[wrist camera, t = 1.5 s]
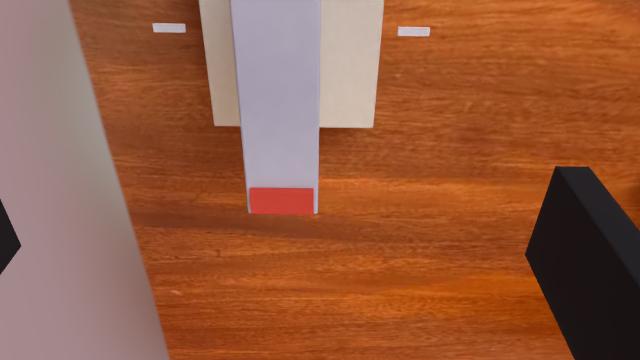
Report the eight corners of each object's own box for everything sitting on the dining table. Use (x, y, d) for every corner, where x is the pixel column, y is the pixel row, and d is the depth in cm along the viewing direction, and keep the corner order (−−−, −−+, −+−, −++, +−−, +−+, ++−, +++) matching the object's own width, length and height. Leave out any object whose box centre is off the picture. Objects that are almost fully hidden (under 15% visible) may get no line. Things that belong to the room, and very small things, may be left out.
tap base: (143, -140, 20) (122, -137, 18) (439, -135, 20) (453, -131, 18) (186, 121, 27) (174, 146, 25) (405, 124, 28) (412, 149, 25)
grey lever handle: (258, -72, 20) (225, -19, 13) (321, -71, 20) (321, -18, 13) (267, 110, 24) (247, 218, 17) (318, 110, 24) (317, 219, 17)
